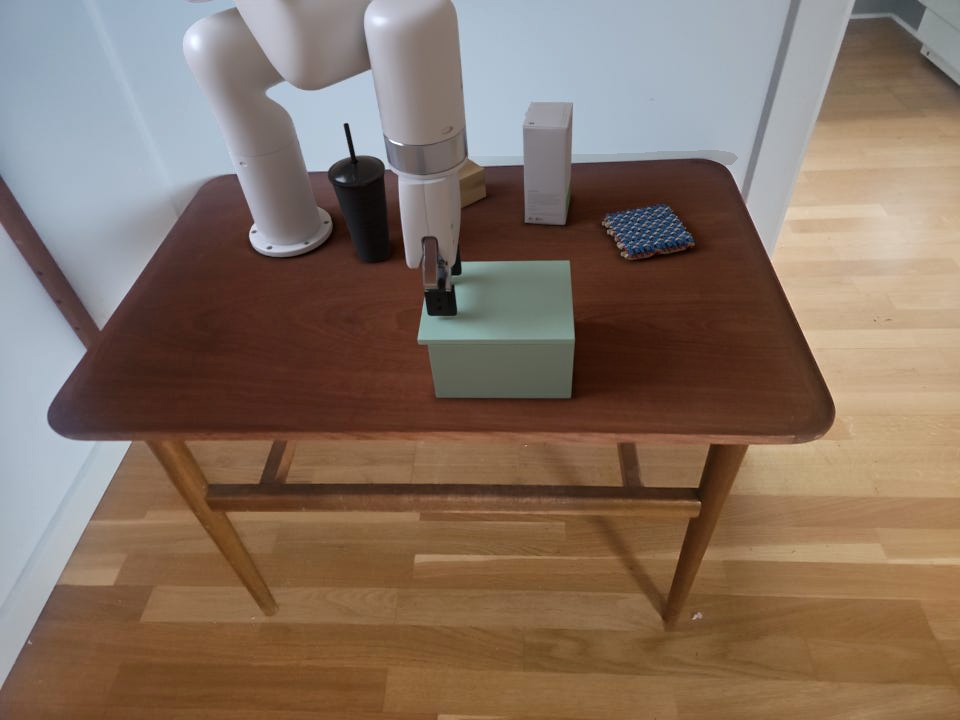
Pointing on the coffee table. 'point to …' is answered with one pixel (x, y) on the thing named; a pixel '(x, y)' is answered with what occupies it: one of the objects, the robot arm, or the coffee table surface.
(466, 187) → the maple block
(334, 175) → the drinking cup
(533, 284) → the compartment lid
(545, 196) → the cosmetic box
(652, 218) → the woven mat
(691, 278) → the coffee table surface
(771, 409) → the coffee table surface
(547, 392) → the compartment
